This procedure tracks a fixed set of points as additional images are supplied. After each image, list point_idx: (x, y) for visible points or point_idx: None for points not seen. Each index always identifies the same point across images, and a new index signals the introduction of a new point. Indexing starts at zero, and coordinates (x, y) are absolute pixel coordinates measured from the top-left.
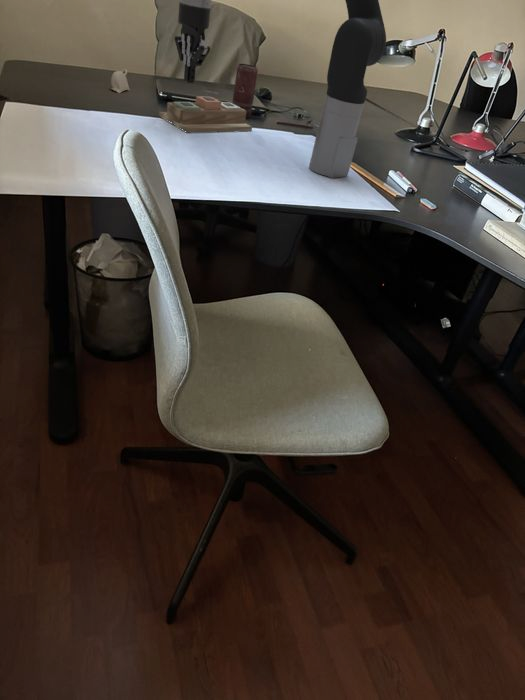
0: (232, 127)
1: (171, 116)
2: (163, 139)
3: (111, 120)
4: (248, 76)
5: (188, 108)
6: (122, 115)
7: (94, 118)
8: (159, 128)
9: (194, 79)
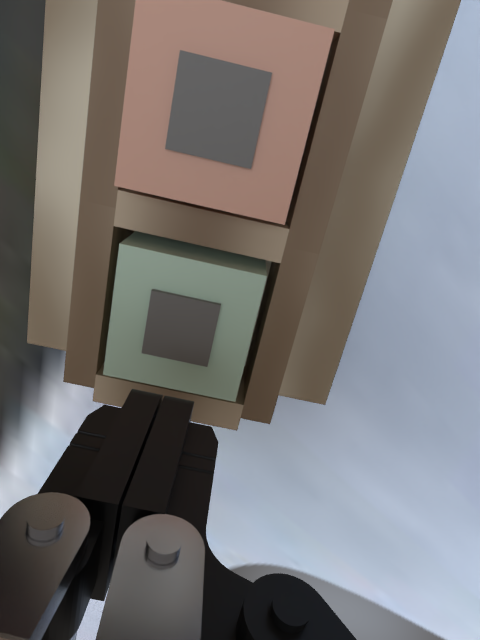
0: (443, 51)
1: None
2: (342, 544)
3: None
4: None
5: (243, 365)
6: (8, 495)
7: None
8: (216, 466)
9: (216, 439)
